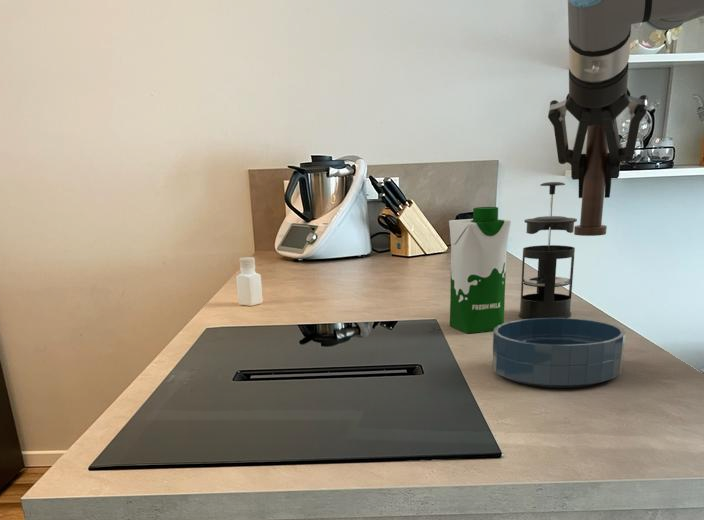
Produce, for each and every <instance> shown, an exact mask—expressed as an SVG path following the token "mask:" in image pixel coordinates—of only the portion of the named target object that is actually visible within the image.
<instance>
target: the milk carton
mask: <svg viewBox="0 0 704 520" xmlns="http://www.w3.org/2000/svg"><path fill="white" fill-rule="evenodd" d="M511 222H512V221H511V220H509V219H505V218H503V219H502V218H499V207H498V206H477V207H473V209H472V218H467V219H452V220H451V219H450V220H448V226H449V236H450V294H449V295H450V296H449V297H450V299H449V327H451V328H454V329H455V330H458V331H460V332H463V333H465V334H476V333H485V332H494V328H496V327H497V326H498V325H501V324H503V323H505V305H506V303H505V301H506V300H505V299H506V278H507V277H506V276H507V254H508V253H507V252H508V251H507V250H508V242H509V234H510V229H511Z"/></svg>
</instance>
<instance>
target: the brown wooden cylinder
mask: <svg viewBox="0 0 704 520" xmlns="http://www.w3.org/2000/svg"><path fill="white" fill-rule="evenodd" d="M608 153H609V149H608V143H607V138H606V133H605V132H604V126H603V125H597V124H596V125H592V126H588V129H587V133H586V143H585V154H586V155H585V168H584V180H583V193H582V198H581V206H580V207H581V208H580V221H579V224H577V225H574V231H573V234H574V236H579V237H580V236H581V237H582V236H583V237H595V236H597V237H598V236H605V235H607V228H608V226H607V225H605V224H602V223H603V211H604V201H605V200H604V199H605V175H606V162H607V155H608Z"/></svg>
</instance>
